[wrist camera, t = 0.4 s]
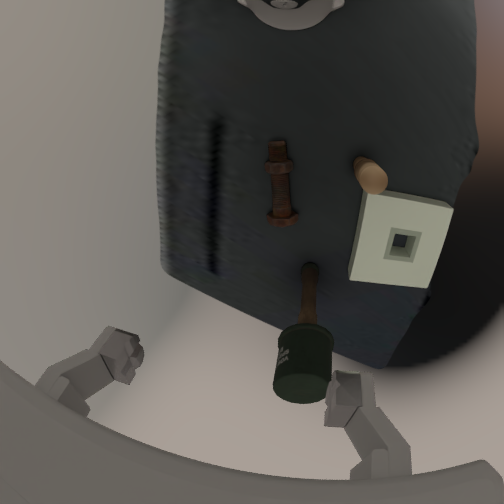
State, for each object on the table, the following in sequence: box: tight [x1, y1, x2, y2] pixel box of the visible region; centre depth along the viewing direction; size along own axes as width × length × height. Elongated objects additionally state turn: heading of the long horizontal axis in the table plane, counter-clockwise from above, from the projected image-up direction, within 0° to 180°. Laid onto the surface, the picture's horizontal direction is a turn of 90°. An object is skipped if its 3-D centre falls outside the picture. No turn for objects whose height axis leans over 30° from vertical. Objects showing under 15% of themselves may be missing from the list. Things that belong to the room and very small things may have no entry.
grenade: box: [273, 263, 334, 404], centre depth 46 cm, size 8×9×30 cm
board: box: [348, 189, 453, 288], centre depth 50 cm, size 18×18×4 cm
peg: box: [353, 157, 388, 195], centre depth 42 cm, size 4×4×11 cm
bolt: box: [265, 141, 298, 227], centre depth 49 cm, size 6×5×15 cm
